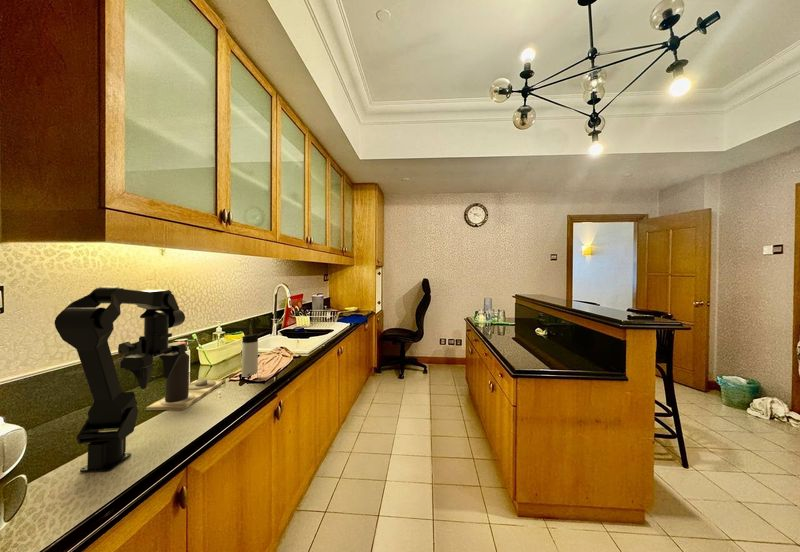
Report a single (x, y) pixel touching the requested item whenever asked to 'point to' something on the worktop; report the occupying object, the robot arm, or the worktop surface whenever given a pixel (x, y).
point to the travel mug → (249, 355)
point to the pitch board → (195, 393)
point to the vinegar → (178, 380)
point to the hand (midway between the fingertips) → (155, 383)
